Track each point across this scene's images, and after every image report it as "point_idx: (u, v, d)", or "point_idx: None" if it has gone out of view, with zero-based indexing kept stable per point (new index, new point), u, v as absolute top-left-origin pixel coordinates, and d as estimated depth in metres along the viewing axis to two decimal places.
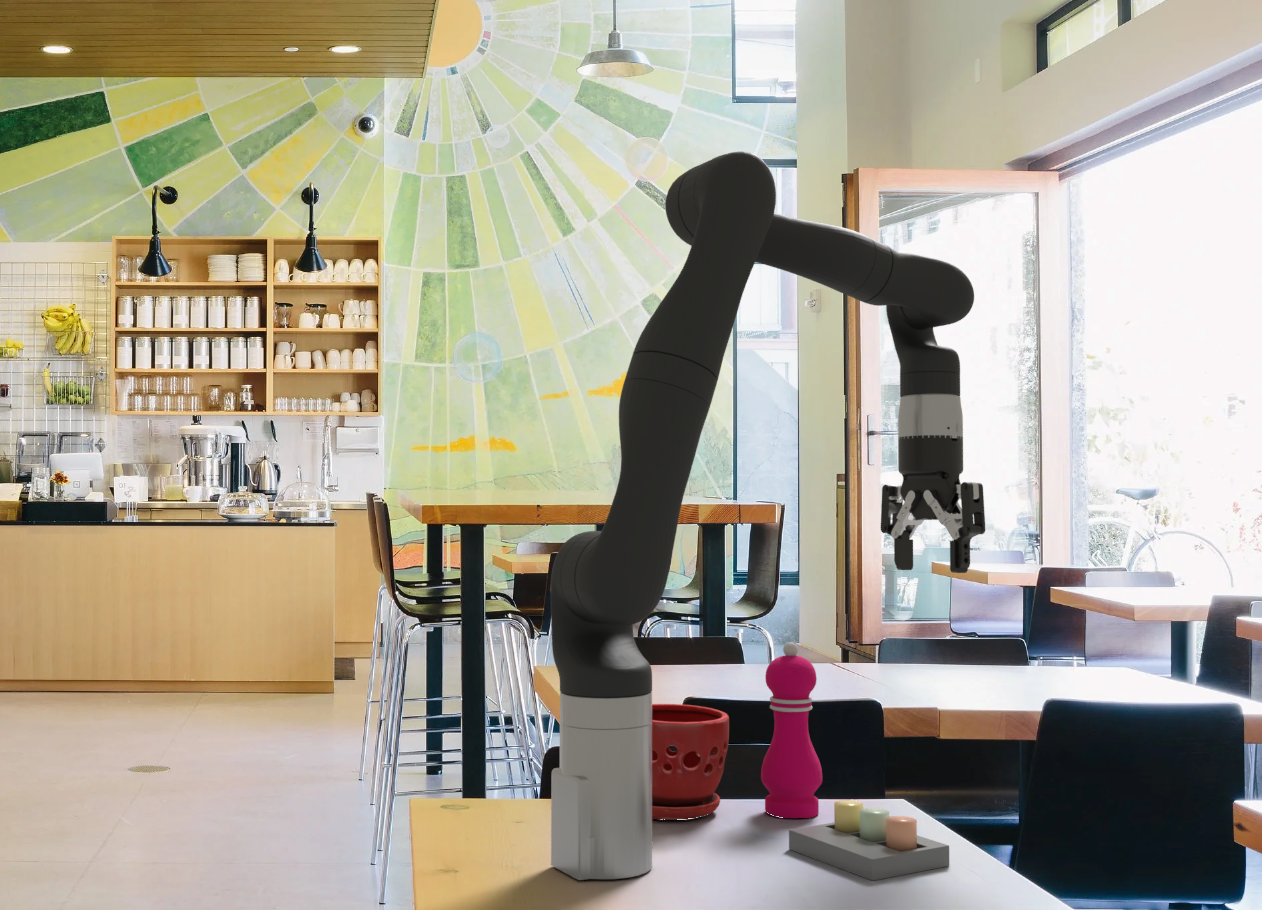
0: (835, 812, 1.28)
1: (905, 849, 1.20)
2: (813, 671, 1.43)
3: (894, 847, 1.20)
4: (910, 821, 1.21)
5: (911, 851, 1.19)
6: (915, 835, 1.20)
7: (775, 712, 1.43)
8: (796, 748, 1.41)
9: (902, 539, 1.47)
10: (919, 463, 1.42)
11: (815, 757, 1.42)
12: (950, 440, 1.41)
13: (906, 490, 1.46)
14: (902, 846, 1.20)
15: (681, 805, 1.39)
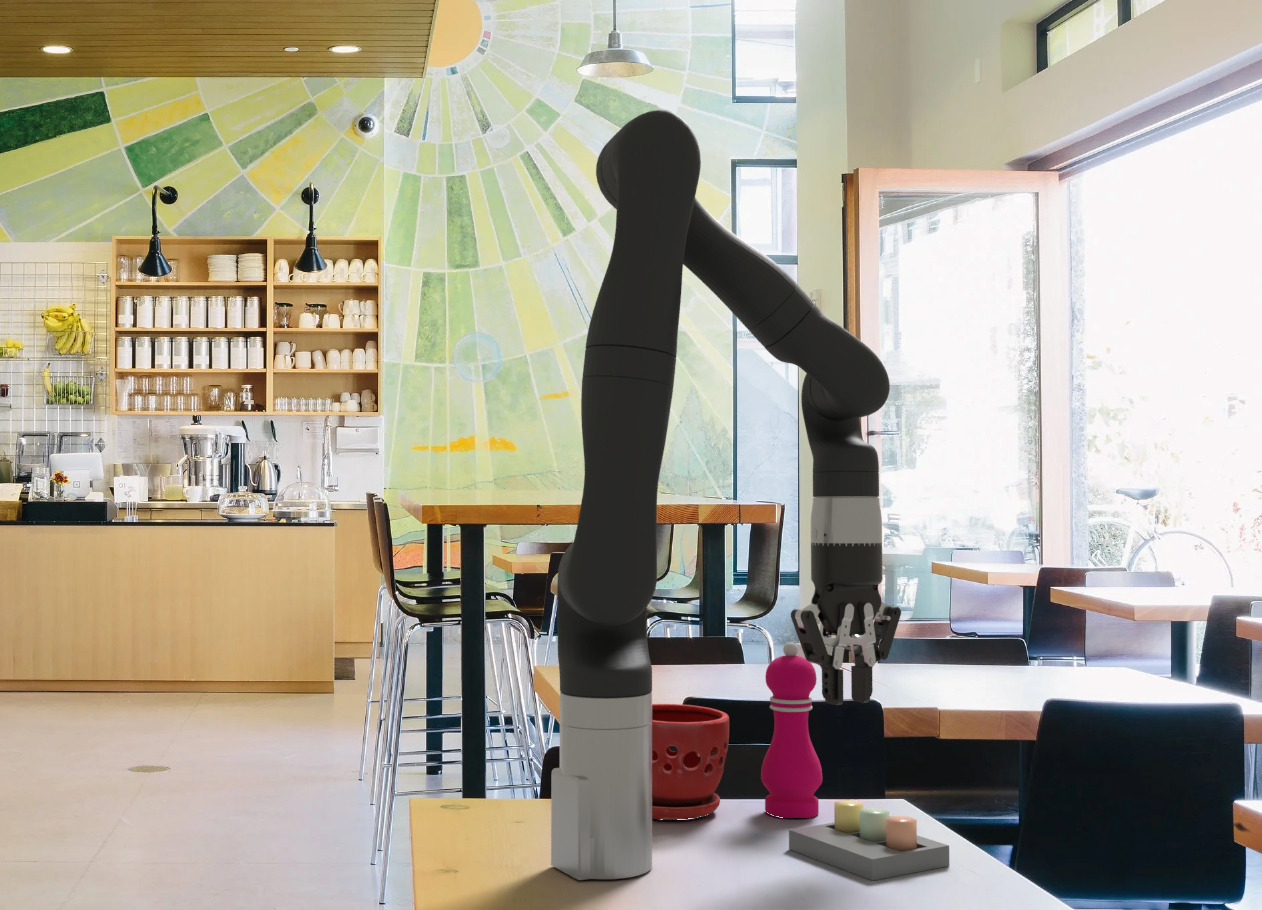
0: (835, 812, 1.28)
1: (905, 849, 1.20)
2: (813, 671, 1.43)
3: (894, 847, 1.20)
4: (910, 821, 1.21)
5: (911, 851, 1.19)
6: (915, 835, 1.20)
7: (775, 712, 1.43)
8: (796, 748, 1.41)
9: None
10: (878, 573, 1.27)
11: (815, 757, 1.42)
12: None
13: (832, 602, 1.27)
14: (902, 846, 1.20)
15: (681, 805, 1.39)
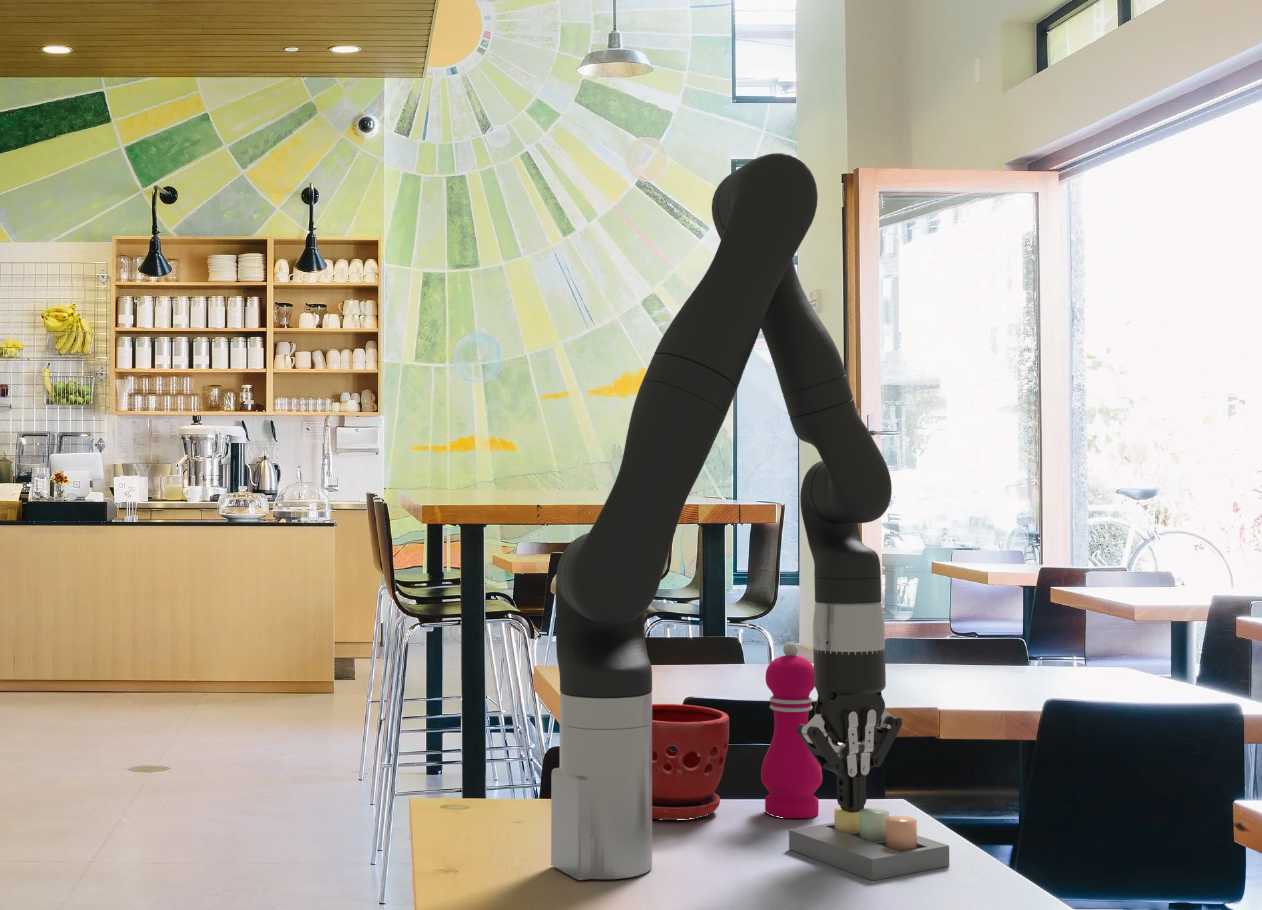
0: (835, 819, 1.28)
1: (905, 849, 1.20)
2: (813, 671, 1.43)
3: (894, 847, 1.20)
4: (910, 821, 1.21)
5: (911, 851, 1.19)
6: (915, 835, 1.20)
7: (775, 712, 1.43)
8: (796, 748, 1.41)
9: None
10: (881, 681, 1.27)
11: None
12: None
13: (835, 709, 1.26)
14: (902, 846, 1.20)
15: (681, 805, 1.39)
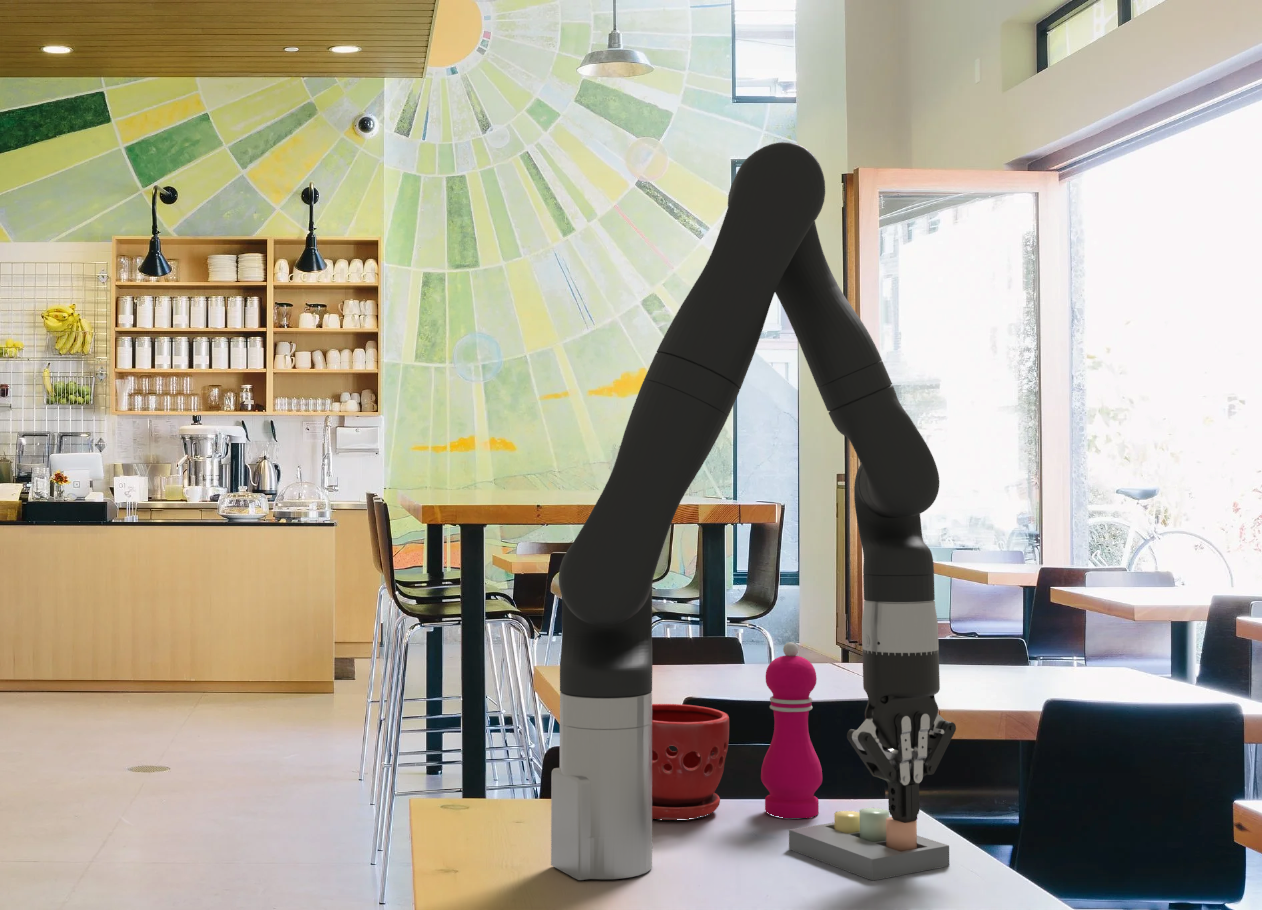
0: (836, 823, 1.28)
1: (905, 849, 1.20)
2: (813, 671, 1.43)
3: (894, 847, 1.20)
4: None
5: (911, 851, 1.19)
6: (915, 835, 1.20)
7: (775, 712, 1.43)
8: (796, 748, 1.41)
9: None
10: (936, 683, 1.20)
11: (815, 757, 1.42)
12: None
13: (887, 714, 1.19)
14: (902, 846, 1.20)
15: (681, 805, 1.39)
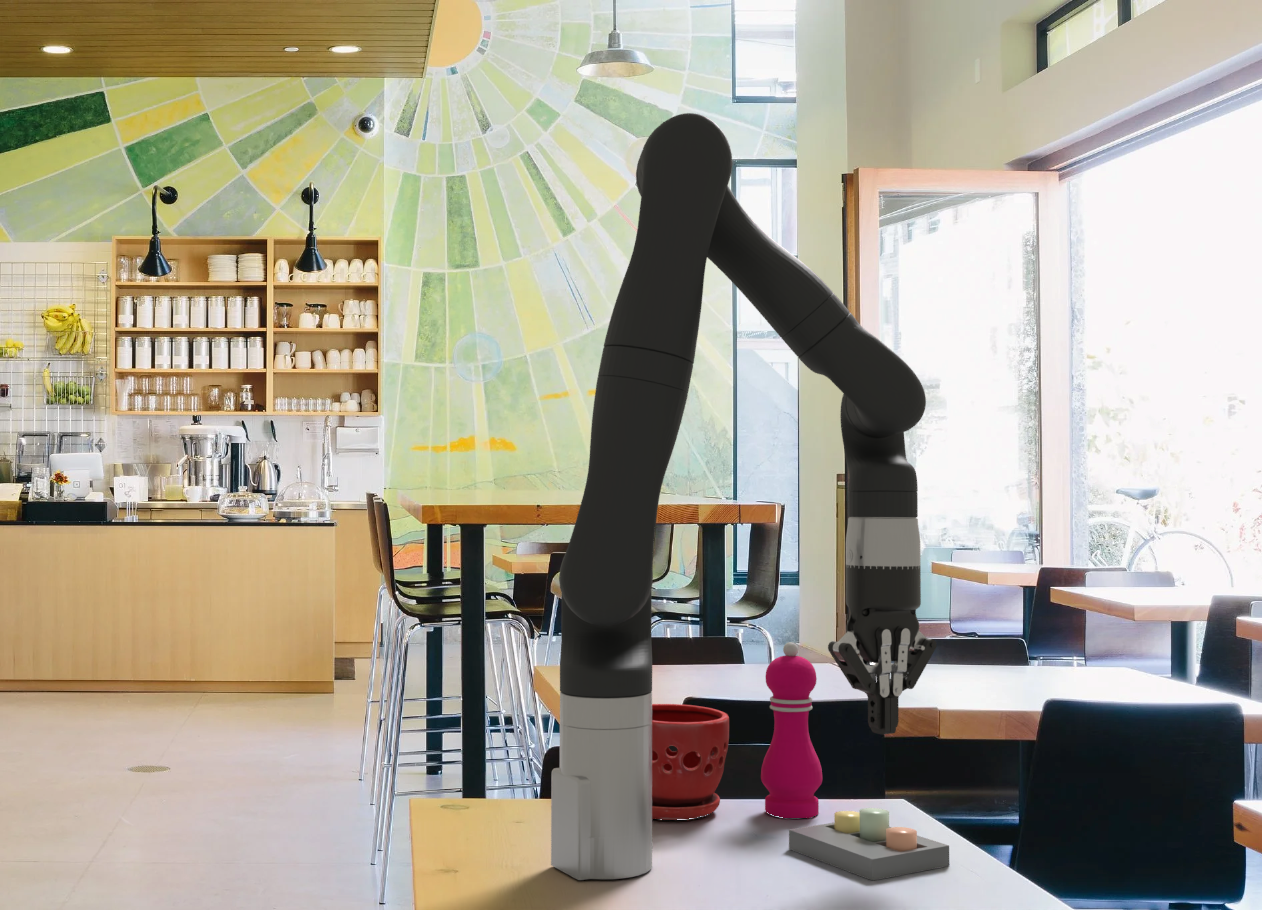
0: (836, 823, 1.28)
1: None
2: (813, 671, 1.43)
3: None
4: (910, 832, 1.21)
5: (911, 851, 1.19)
6: (915, 846, 1.20)
7: (775, 712, 1.43)
8: (796, 748, 1.41)
9: None
10: (917, 598, 1.22)
11: (815, 757, 1.42)
12: None
13: (868, 627, 1.22)
14: None
15: (681, 805, 1.39)
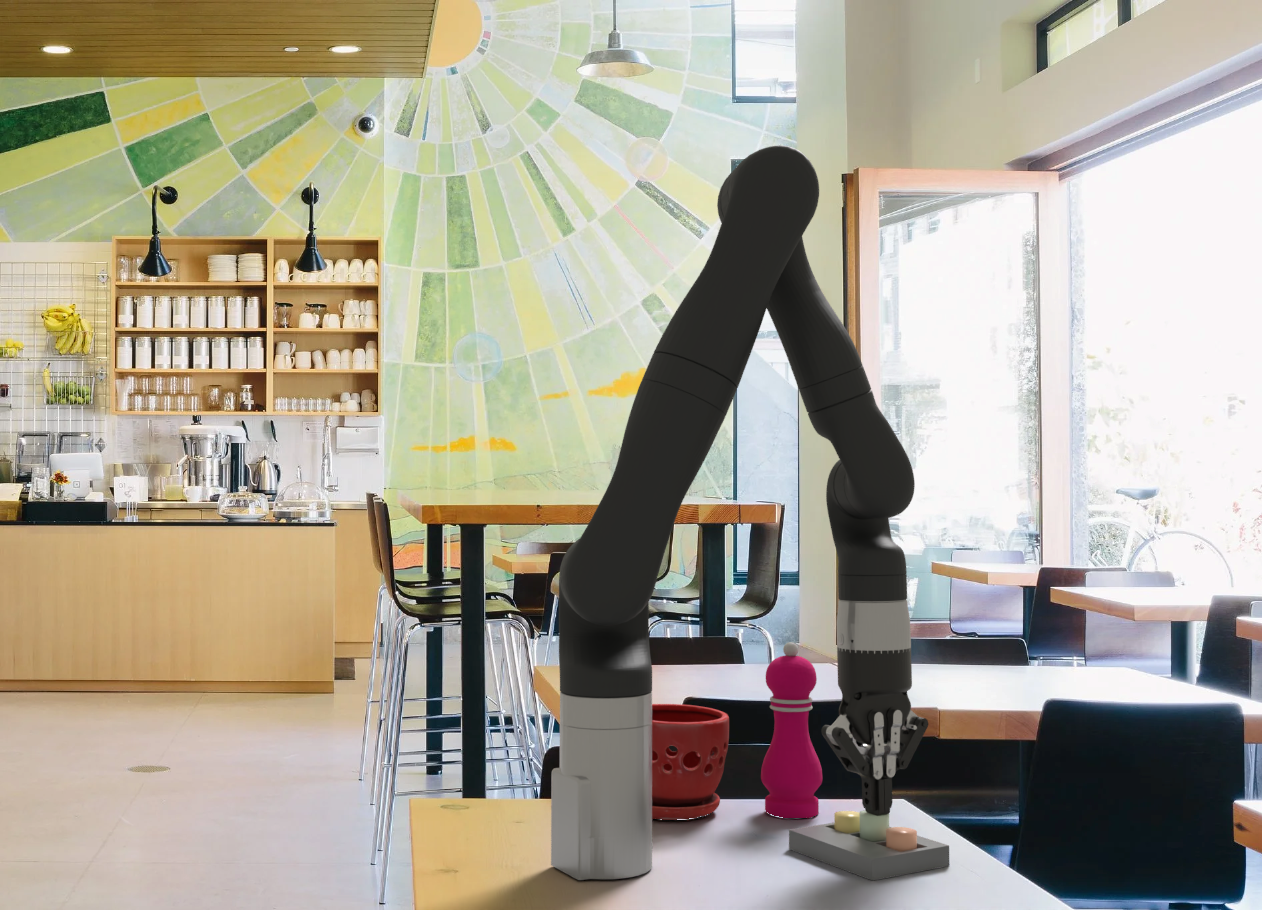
0: (836, 823, 1.28)
1: None
2: (813, 671, 1.43)
3: None
4: (910, 832, 1.21)
5: (911, 851, 1.19)
6: (915, 846, 1.20)
7: (775, 712, 1.43)
8: (796, 748, 1.41)
9: None
10: (908, 680, 1.23)
11: (815, 757, 1.42)
12: None
13: (860, 710, 1.23)
14: None
15: (681, 805, 1.39)
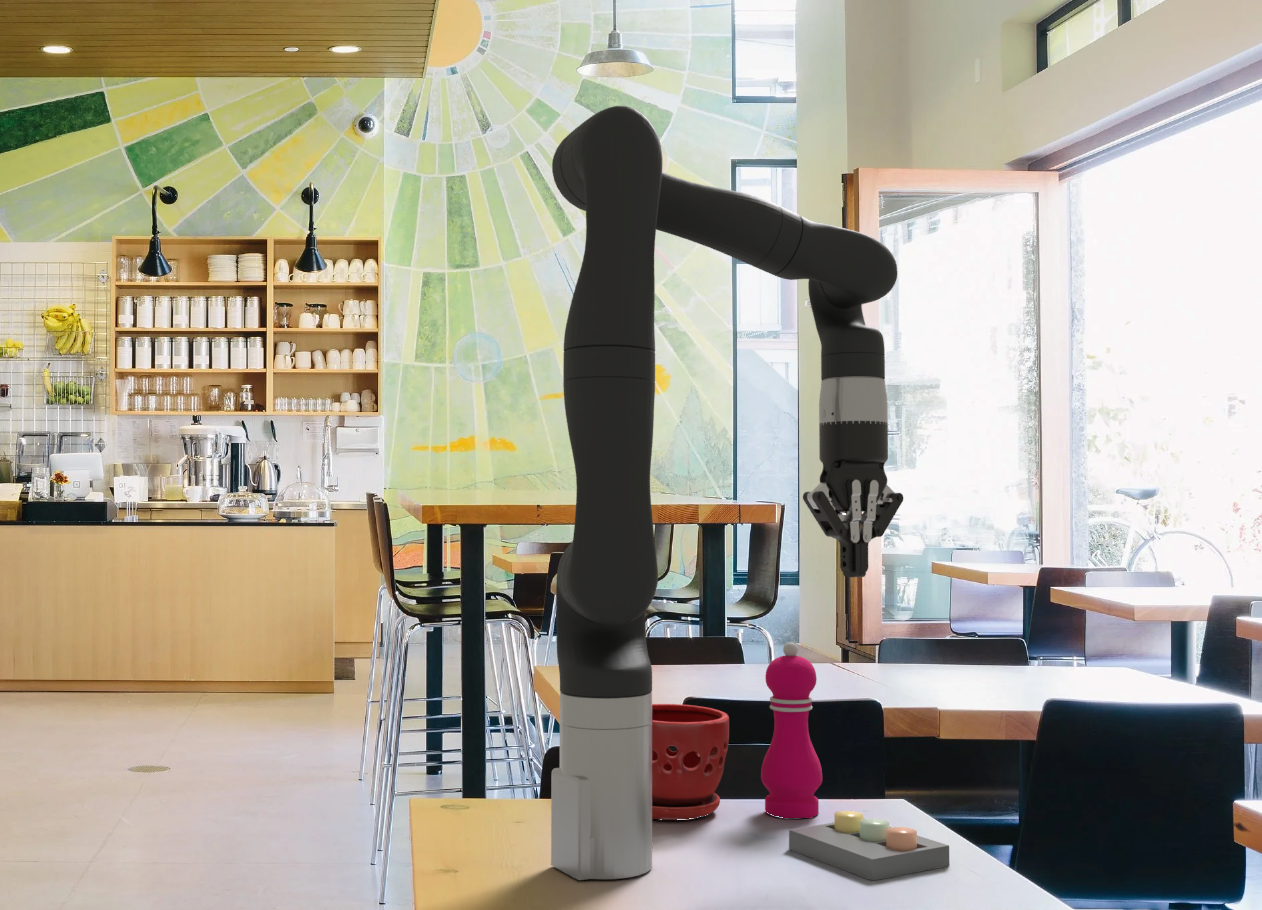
0: (836, 823, 1.28)
1: None
2: (813, 671, 1.43)
3: None
4: (910, 832, 1.21)
5: (911, 851, 1.19)
6: (915, 846, 1.20)
7: (775, 712, 1.43)
8: (796, 748, 1.41)
9: None
10: (884, 451, 1.33)
11: (815, 757, 1.42)
12: None
13: (839, 477, 1.33)
14: None
15: (681, 805, 1.39)
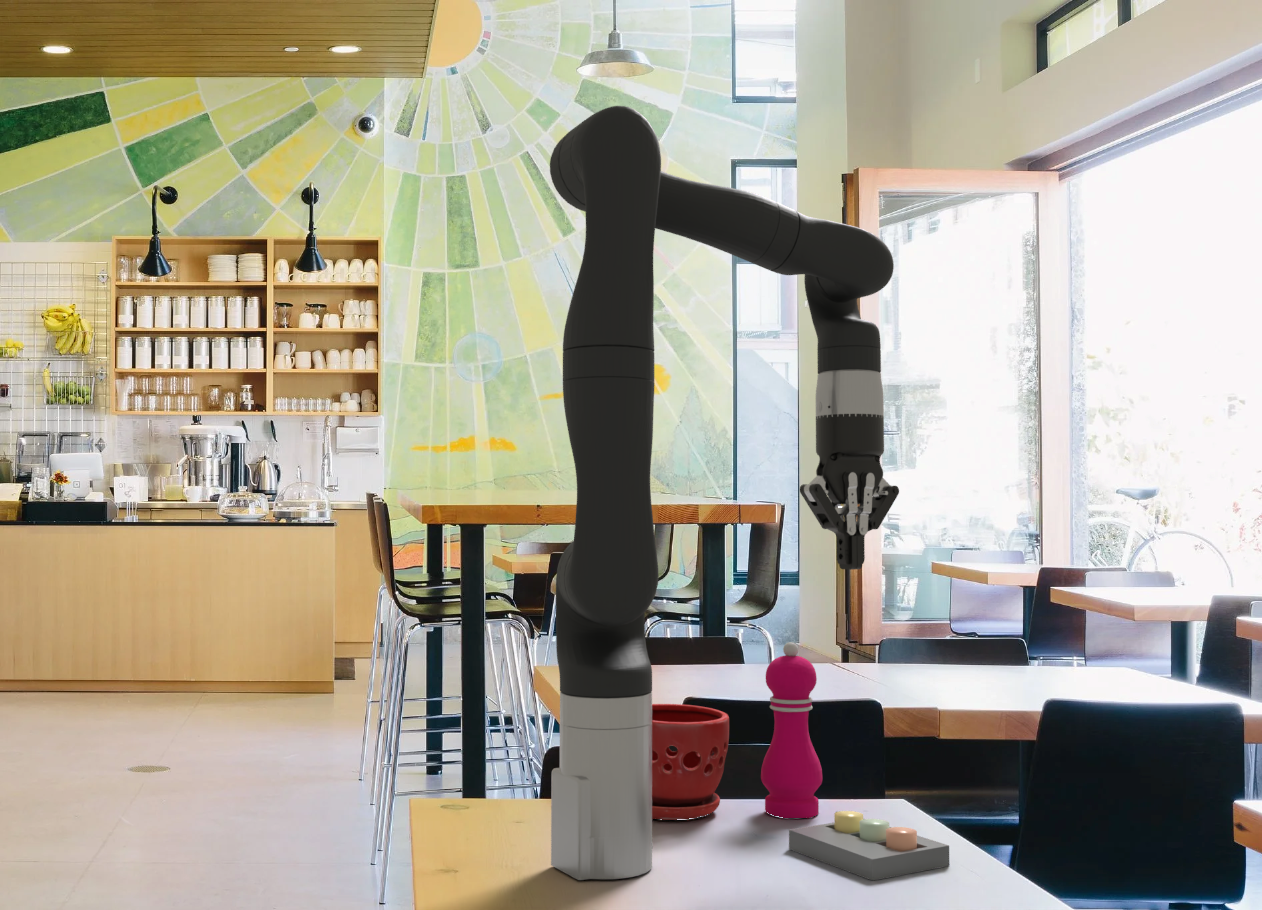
0: (836, 823, 1.28)
1: None
2: (813, 671, 1.43)
3: None
4: (910, 832, 1.21)
5: (911, 851, 1.19)
6: (915, 846, 1.20)
7: (775, 712, 1.43)
8: (796, 748, 1.41)
9: None
10: (880, 444, 1.34)
11: (815, 757, 1.42)
12: None
13: (836, 470, 1.33)
14: None
15: (681, 805, 1.39)
